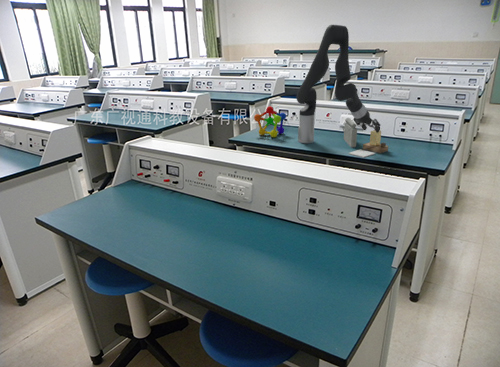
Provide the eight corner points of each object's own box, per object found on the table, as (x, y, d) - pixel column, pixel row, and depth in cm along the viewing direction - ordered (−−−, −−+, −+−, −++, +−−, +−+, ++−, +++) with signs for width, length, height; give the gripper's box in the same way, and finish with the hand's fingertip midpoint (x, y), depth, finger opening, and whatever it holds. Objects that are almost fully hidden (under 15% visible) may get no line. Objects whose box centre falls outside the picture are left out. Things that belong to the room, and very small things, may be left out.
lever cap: (369, 144, 206) (370, 131, 203) (374, 143, 208) (375, 130, 205) (375, 146, 203) (376, 132, 200) (380, 145, 205) (381, 131, 202)
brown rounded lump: (362, 149, 209) (363, 140, 207) (370, 147, 212) (370, 138, 210) (380, 153, 199) (381, 145, 197) (388, 151, 203) (389, 142, 201)
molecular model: (251, 134, 250) (252, 105, 243) (264, 131, 261) (265, 103, 255) (277, 139, 238) (279, 108, 232) (289, 136, 250) (291, 107, 243)
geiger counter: (359, 123, 208) (349, 115, 231) (348, 124, 208) (339, 115, 231) (357, 147, 213) (348, 136, 236) (347, 147, 213) (338, 137, 236)
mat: (348, 153, 202) (348, 152, 201) (360, 150, 207) (360, 149, 207) (363, 157, 194) (363, 156, 194) (375, 154, 199) (375, 153, 199)
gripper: (374, 108, 184) (386, 126, 195) (352, 105, 195) (364, 122, 206) (367, 119, 184) (379, 138, 194) (345, 116, 195) (358, 133, 205)
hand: (371, 130), depth 200 cm, fingers open, 8 cm apart
